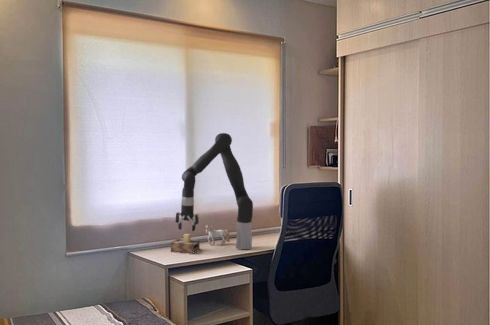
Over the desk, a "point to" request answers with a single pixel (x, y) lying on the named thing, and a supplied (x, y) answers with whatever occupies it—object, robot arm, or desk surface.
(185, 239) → the slate lid
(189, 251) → the walnut box
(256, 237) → the desk surface
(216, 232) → the unicorn figurine
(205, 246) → the desk surface
